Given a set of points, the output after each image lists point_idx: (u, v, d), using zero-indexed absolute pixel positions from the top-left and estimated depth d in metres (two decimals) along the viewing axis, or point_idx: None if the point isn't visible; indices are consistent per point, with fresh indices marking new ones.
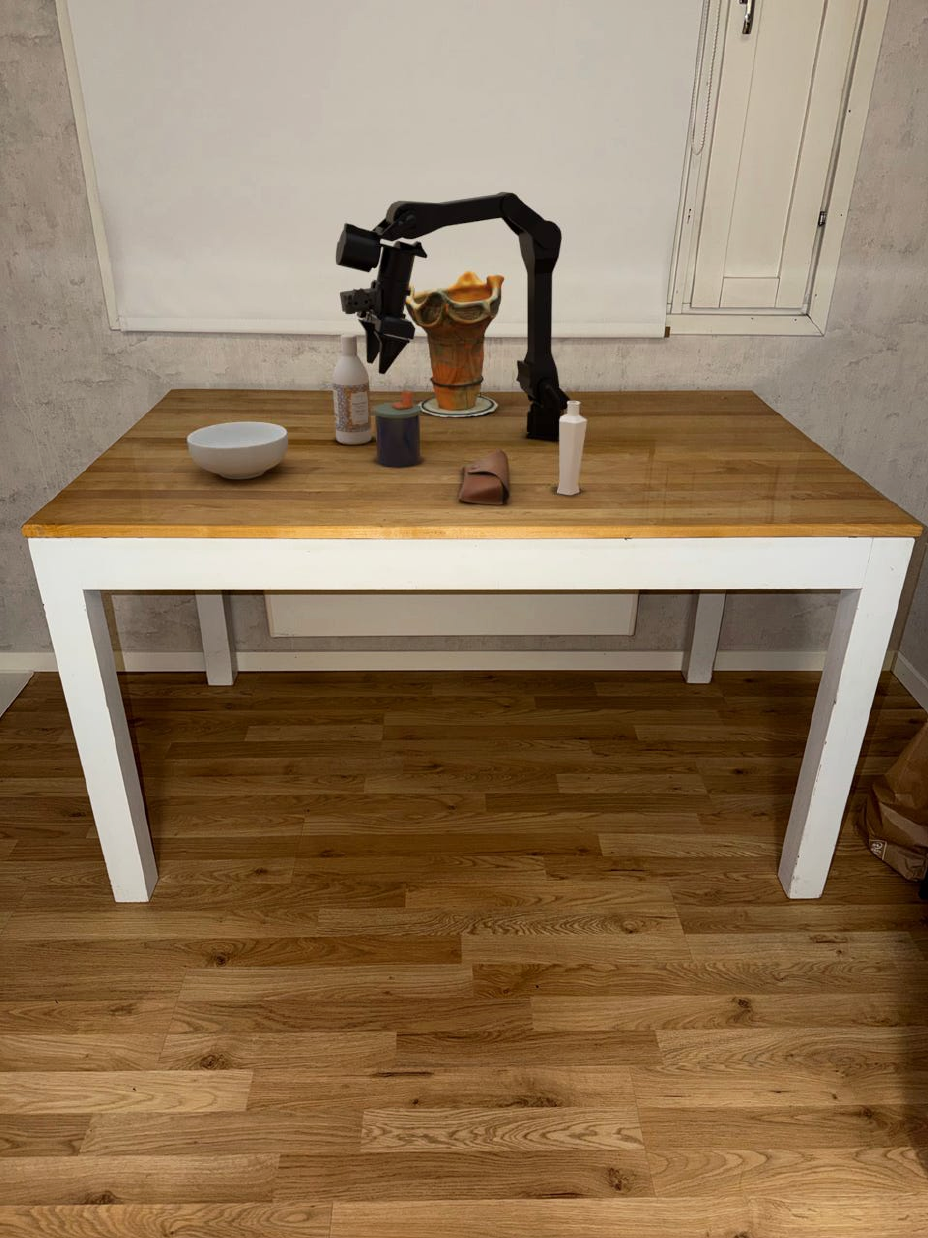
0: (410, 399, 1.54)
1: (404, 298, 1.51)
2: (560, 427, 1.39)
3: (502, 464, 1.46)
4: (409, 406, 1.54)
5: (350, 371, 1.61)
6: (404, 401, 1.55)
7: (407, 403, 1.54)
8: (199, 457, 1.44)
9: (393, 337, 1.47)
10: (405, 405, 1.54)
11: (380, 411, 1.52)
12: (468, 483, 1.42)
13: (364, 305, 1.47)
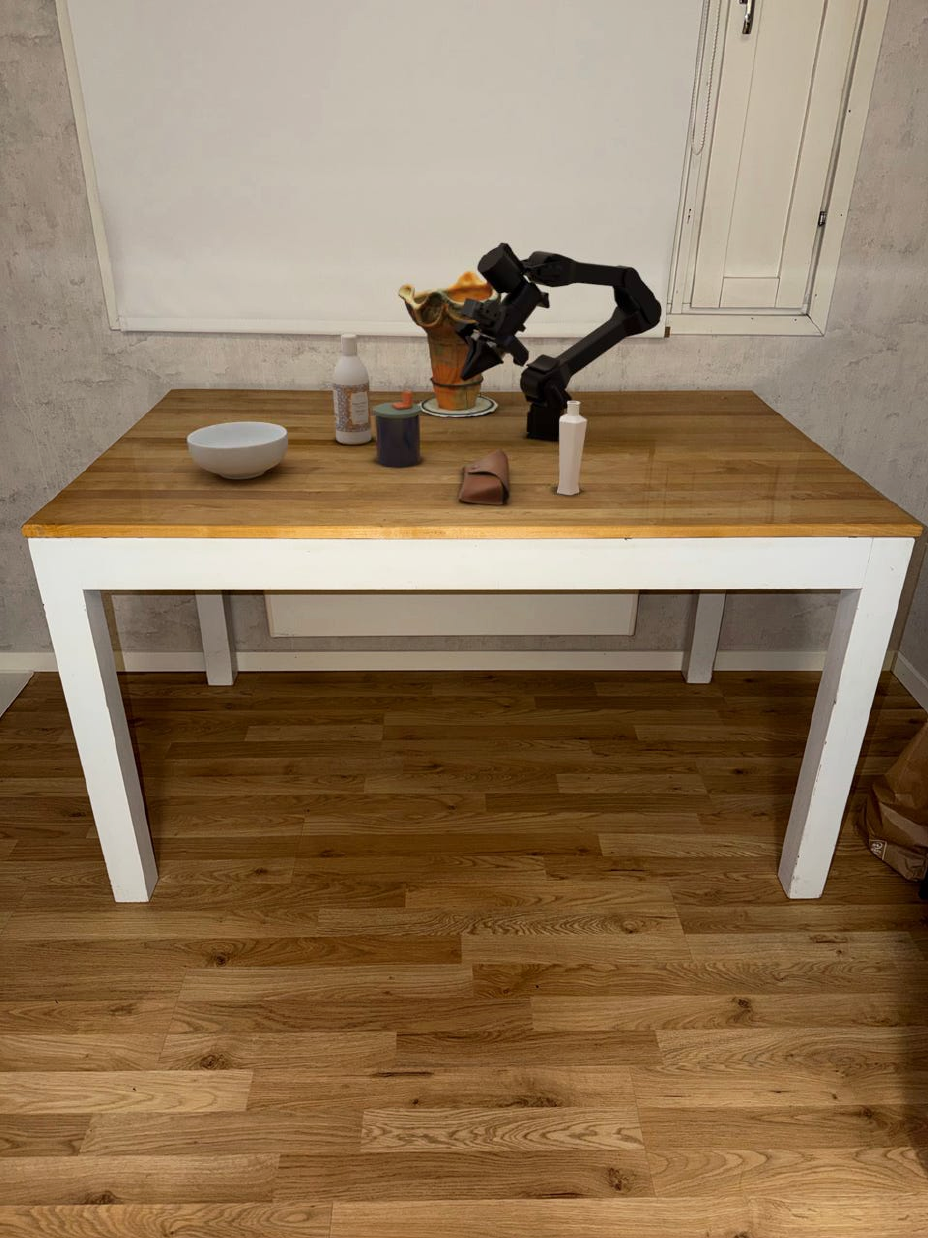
0: (410, 399, 1.54)
1: (517, 331, 1.58)
2: (560, 427, 1.39)
3: (502, 464, 1.46)
4: (409, 406, 1.54)
5: (350, 371, 1.61)
6: (404, 401, 1.55)
7: (407, 403, 1.54)
8: (199, 457, 1.44)
9: (494, 352, 1.56)
10: (405, 405, 1.54)
11: (380, 411, 1.52)
12: (468, 483, 1.42)
13: (492, 317, 1.52)
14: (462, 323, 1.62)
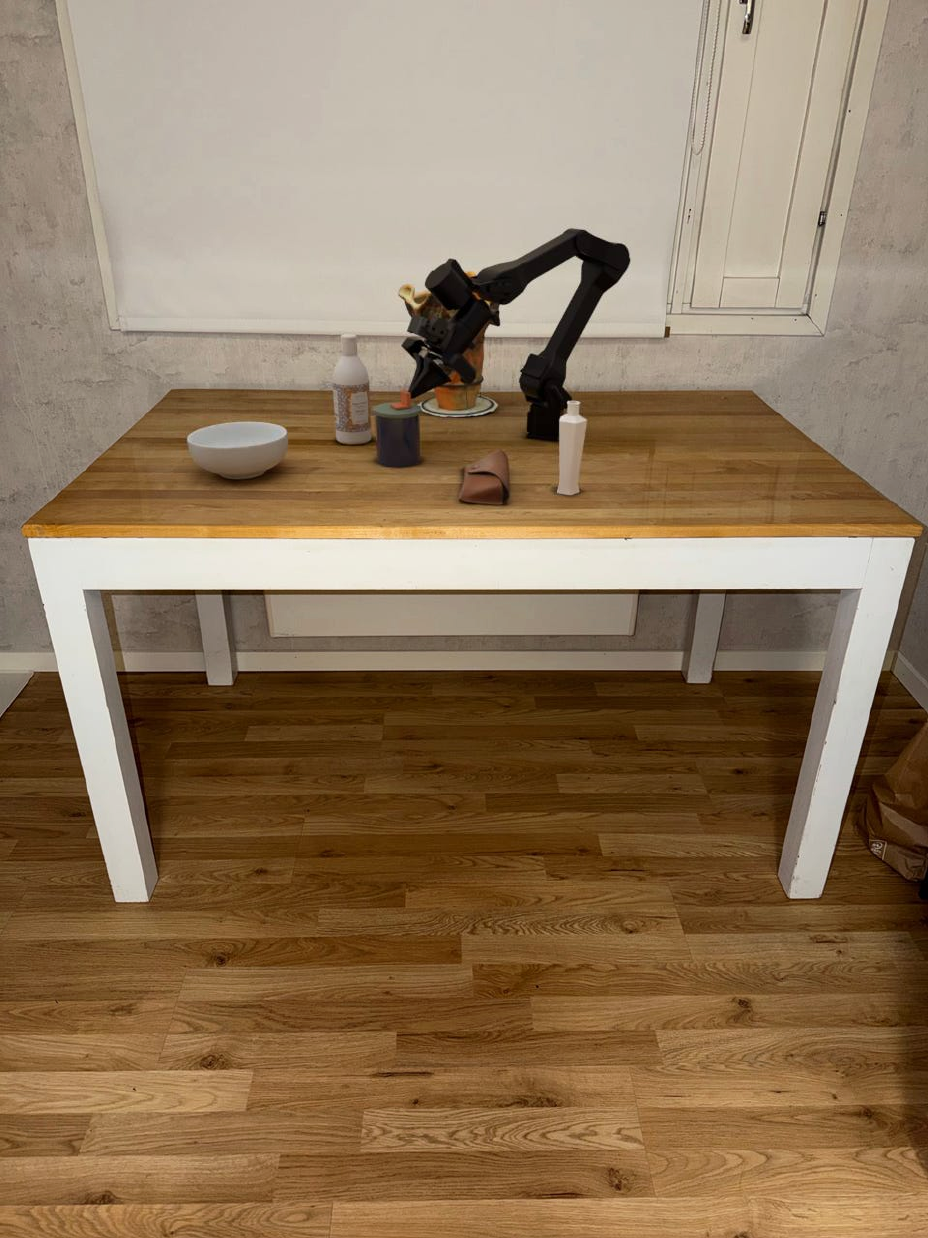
0: (408, 399, 1.54)
1: (466, 349, 1.55)
2: (560, 427, 1.39)
3: (502, 464, 1.46)
4: (407, 406, 1.54)
5: (350, 371, 1.61)
6: (402, 401, 1.55)
7: (405, 403, 1.54)
8: (199, 457, 1.44)
9: (441, 370, 1.52)
10: (403, 405, 1.54)
11: (380, 411, 1.52)
12: (468, 483, 1.42)
13: (439, 334, 1.48)
14: (411, 340, 1.58)
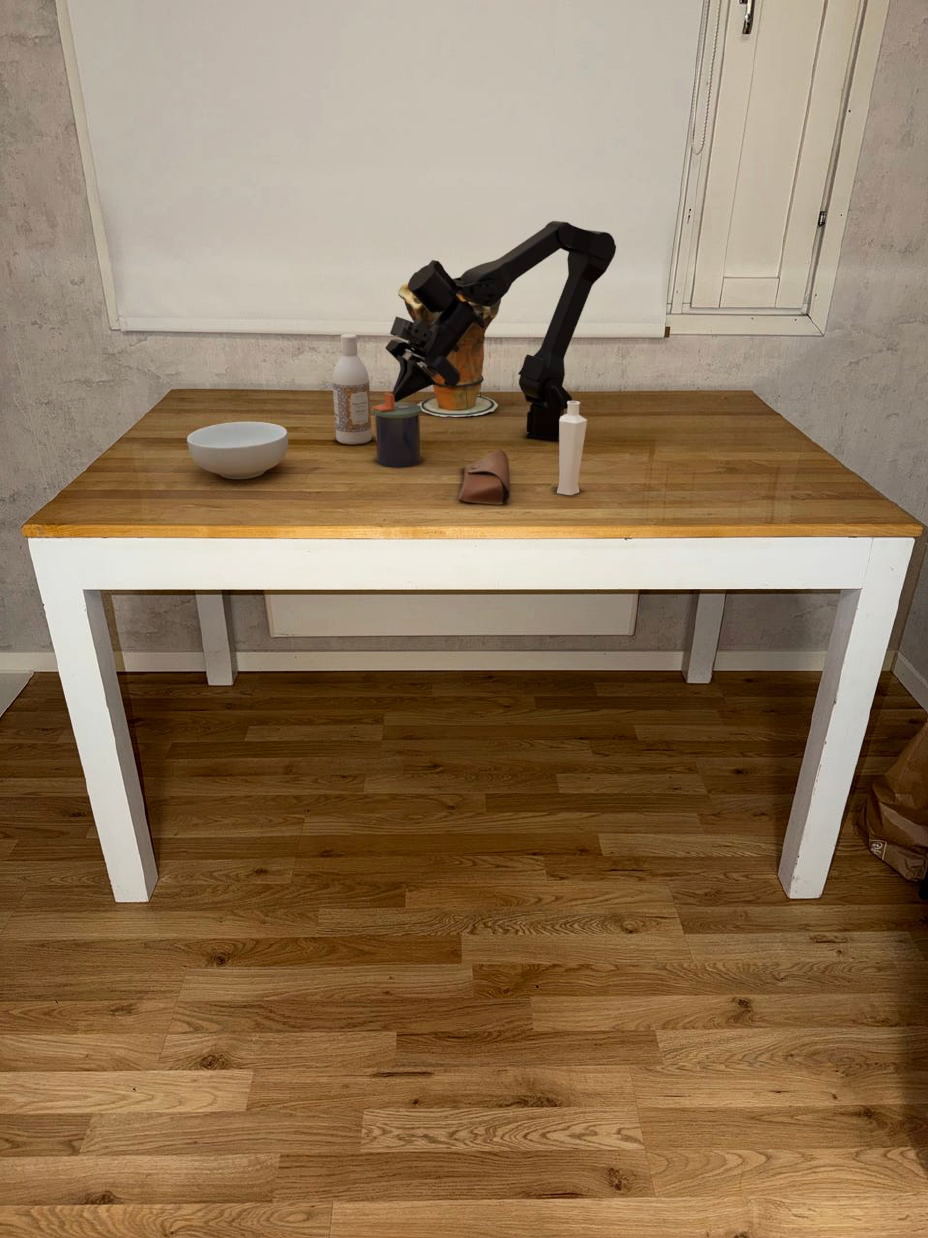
0: (392, 401, 1.52)
1: (450, 351, 1.53)
2: (560, 427, 1.39)
3: (502, 464, 1.46)
4: (391, 408, 1.52)
5: (350, 371, 1.61)
6: (386, 403, 1.53)
7: (389, 405, 1.53)
8: (199, 457, 1.44)
9: (425, 372, 1.50)
10: (387, 407, 1.53)
11: None
12: (468, 483, 1.42)
13: (422, 337, 1.47)
14: (395, 342, 1.56)
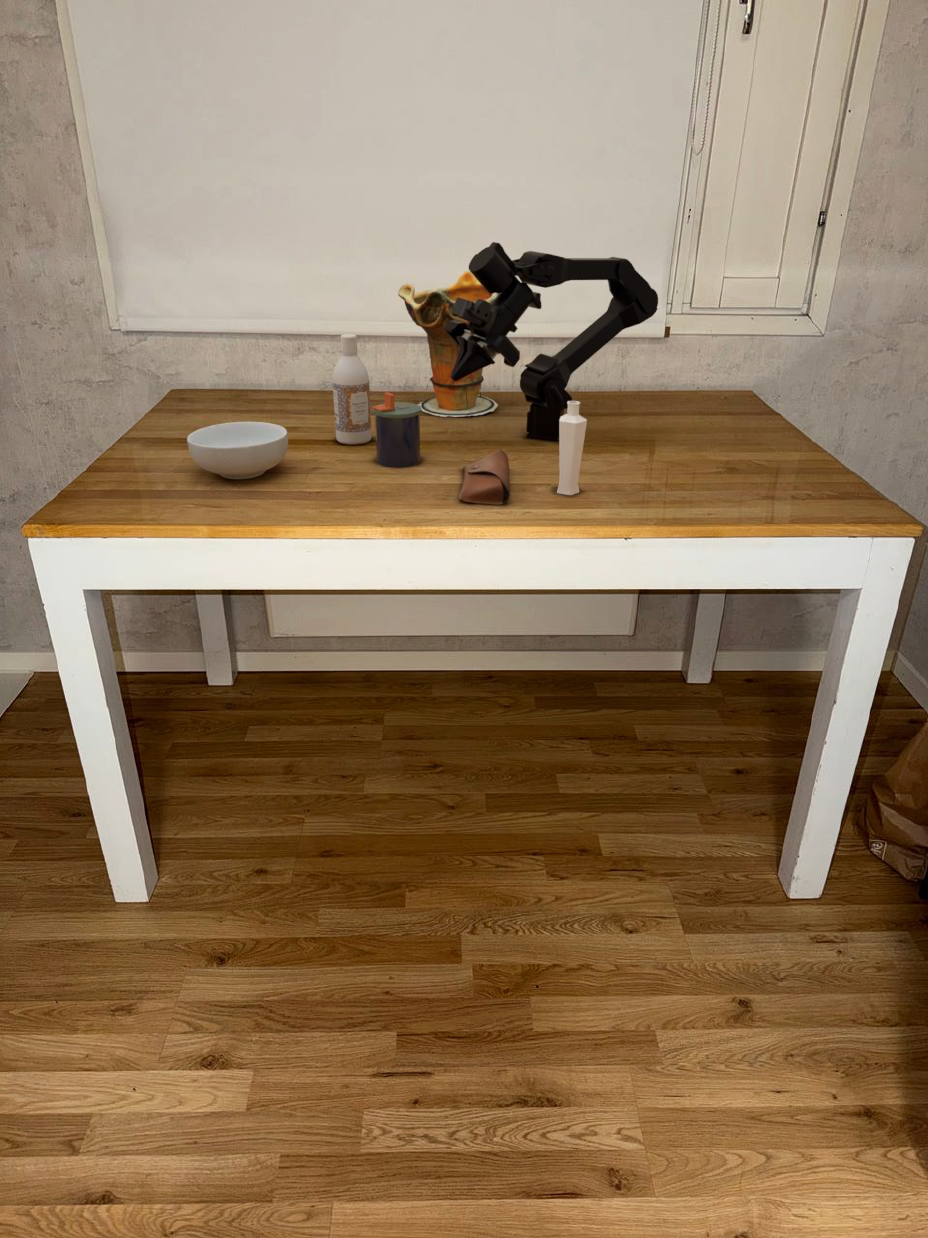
0: (392, 401, 1.52)
1: (508, 332, 1.57)
2: (560, 427, 1.39)
3: (502, 464, 1.46)
4: (391, 408, 1.52)
5: (350, 371, 1.61)
6: (386, 403, 1.53)
7: (389, 405, 1.53)
8: (199, 457, 1.44)
9: (485, 352, 1.55)
10: (387, 407, 1.53)
11: None
12: (468, 483, 1.42)
13: (483, 317, 1.51)
14: (453, 323, 1.61)
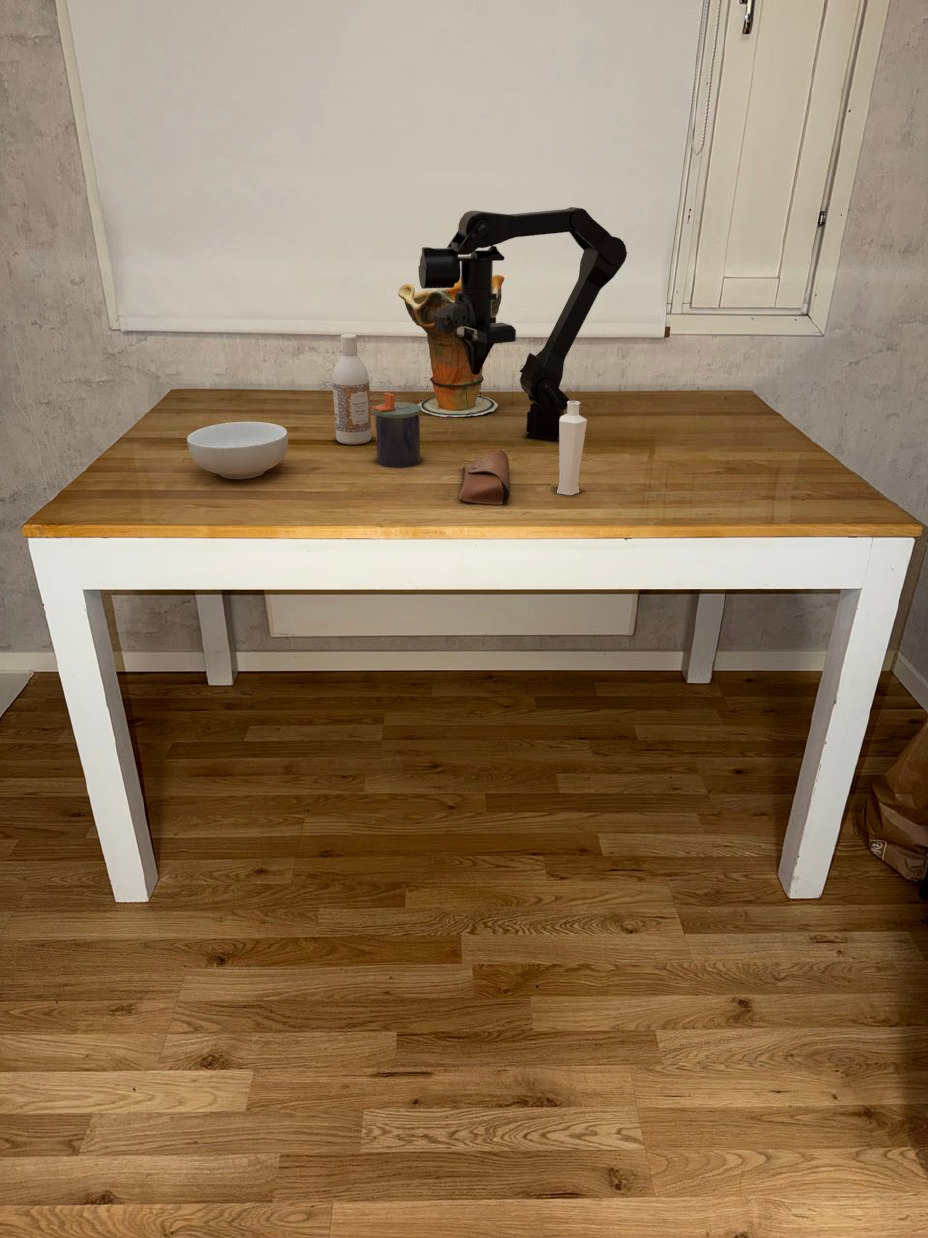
0: (392, 401, 1.52)
1: (491, 302, 1.57)
2: (560, 427, 1.39)
3: (502, 464, 1.46)
4: (391, 408, 1.52)
5: (350, 371, 1.61)
6: (386, 403, 1.53)
7: (389, 405, 1.53)
8: (199, 457, 1.44)
9: None
10: (387, 407, 1.53)
11: None
12: (468, 483, 1.42)
13: (463, 321, 1.53)
14: None
